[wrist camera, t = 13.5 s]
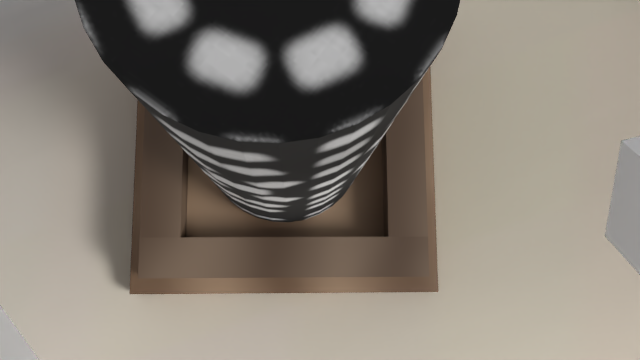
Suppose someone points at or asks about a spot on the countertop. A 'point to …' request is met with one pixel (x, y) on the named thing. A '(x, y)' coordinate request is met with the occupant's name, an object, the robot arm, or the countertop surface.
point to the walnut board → (288, 237)
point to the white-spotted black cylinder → (272, 85)
